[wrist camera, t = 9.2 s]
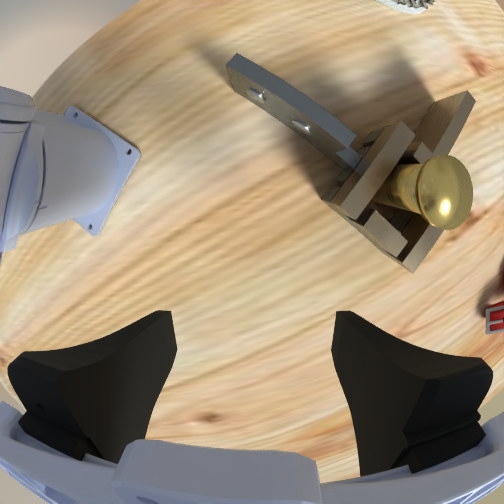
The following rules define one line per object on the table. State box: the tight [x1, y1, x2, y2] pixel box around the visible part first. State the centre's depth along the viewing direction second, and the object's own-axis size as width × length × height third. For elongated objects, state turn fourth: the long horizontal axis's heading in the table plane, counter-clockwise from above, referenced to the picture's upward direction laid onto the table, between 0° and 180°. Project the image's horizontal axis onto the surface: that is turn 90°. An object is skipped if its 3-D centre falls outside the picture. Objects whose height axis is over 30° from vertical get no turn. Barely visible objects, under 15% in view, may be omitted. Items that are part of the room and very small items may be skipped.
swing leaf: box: [330, 91, 476, 273], centre depth 15 cm, size 13×7×5 cm, turn 144°
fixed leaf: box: [226, 53, 415, 262], centre depth 16 cm, size 16×7×5 cm, turn 54°
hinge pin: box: [371, 155, 473, 230], centre depth 14 cm, size 4×4×9 cm
